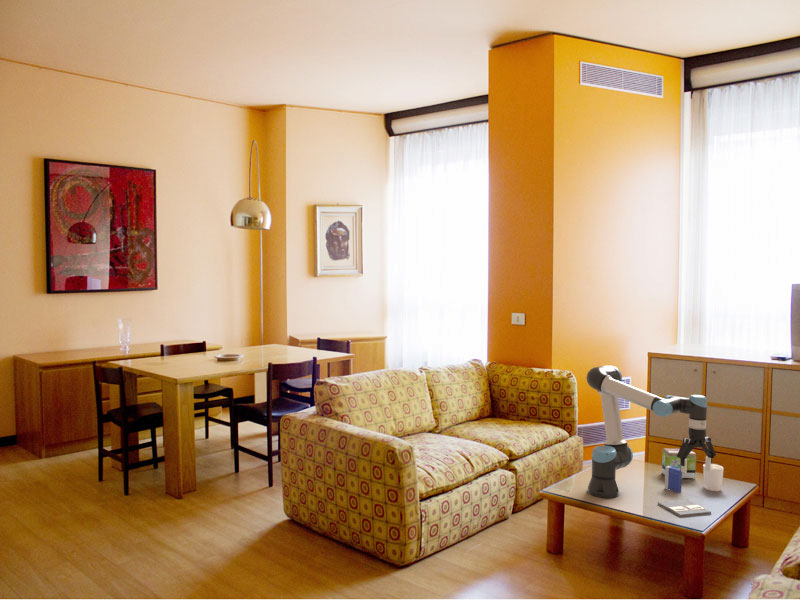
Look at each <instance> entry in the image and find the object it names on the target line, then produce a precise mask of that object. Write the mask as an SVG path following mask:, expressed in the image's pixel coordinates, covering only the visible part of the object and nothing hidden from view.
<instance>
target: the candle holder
mask: <svg viewBox="0 0 800 600" xmlns="http://www.w3.org/2000/svg"><path fill="white" fill-rule="evenodd" d="M702 469H703V475H702V476H703V488H704V489H705V490H708V491H712V492H720V491H722V486H723V478H724V466H722V465H720V464H715V463H712V464H711V472H709V471H707V470H705V463H703V465H702Z"/></svg>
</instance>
